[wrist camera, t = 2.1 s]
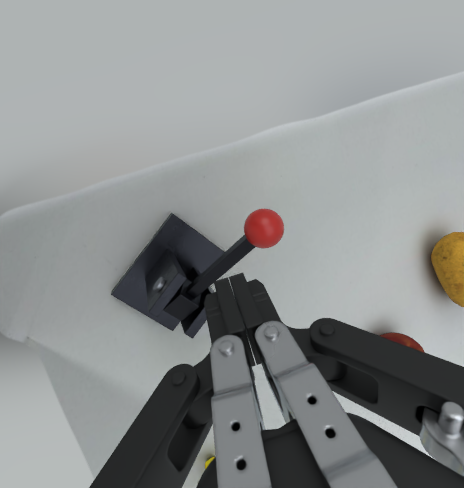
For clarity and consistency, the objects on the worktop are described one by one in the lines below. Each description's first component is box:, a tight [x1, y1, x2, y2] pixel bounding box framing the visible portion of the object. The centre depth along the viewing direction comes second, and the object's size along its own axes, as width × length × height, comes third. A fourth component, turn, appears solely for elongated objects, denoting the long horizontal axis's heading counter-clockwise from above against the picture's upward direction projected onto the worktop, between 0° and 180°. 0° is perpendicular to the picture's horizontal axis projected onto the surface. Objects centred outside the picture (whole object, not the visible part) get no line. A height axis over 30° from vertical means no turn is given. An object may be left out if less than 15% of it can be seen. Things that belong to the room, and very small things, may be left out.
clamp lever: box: [163, 209, 284, 321], centre depth 28 cm, size 14×3×3 cm, turn 141°
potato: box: [431, 232, 464, 307], centre depth 50 cm, size 7×14×7 cm, turn 30°
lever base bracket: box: [111, 213, 225, 338], centre depth 34 cm, size 12×9×12 cm
